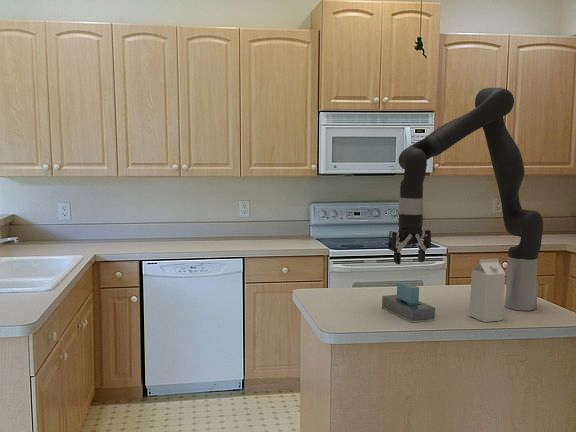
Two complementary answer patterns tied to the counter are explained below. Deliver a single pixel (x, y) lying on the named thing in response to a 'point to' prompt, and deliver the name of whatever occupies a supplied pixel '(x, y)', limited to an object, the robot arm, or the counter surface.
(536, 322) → the counter surface
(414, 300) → the teal elongated block
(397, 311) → the grey socket block
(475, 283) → the milk carton
